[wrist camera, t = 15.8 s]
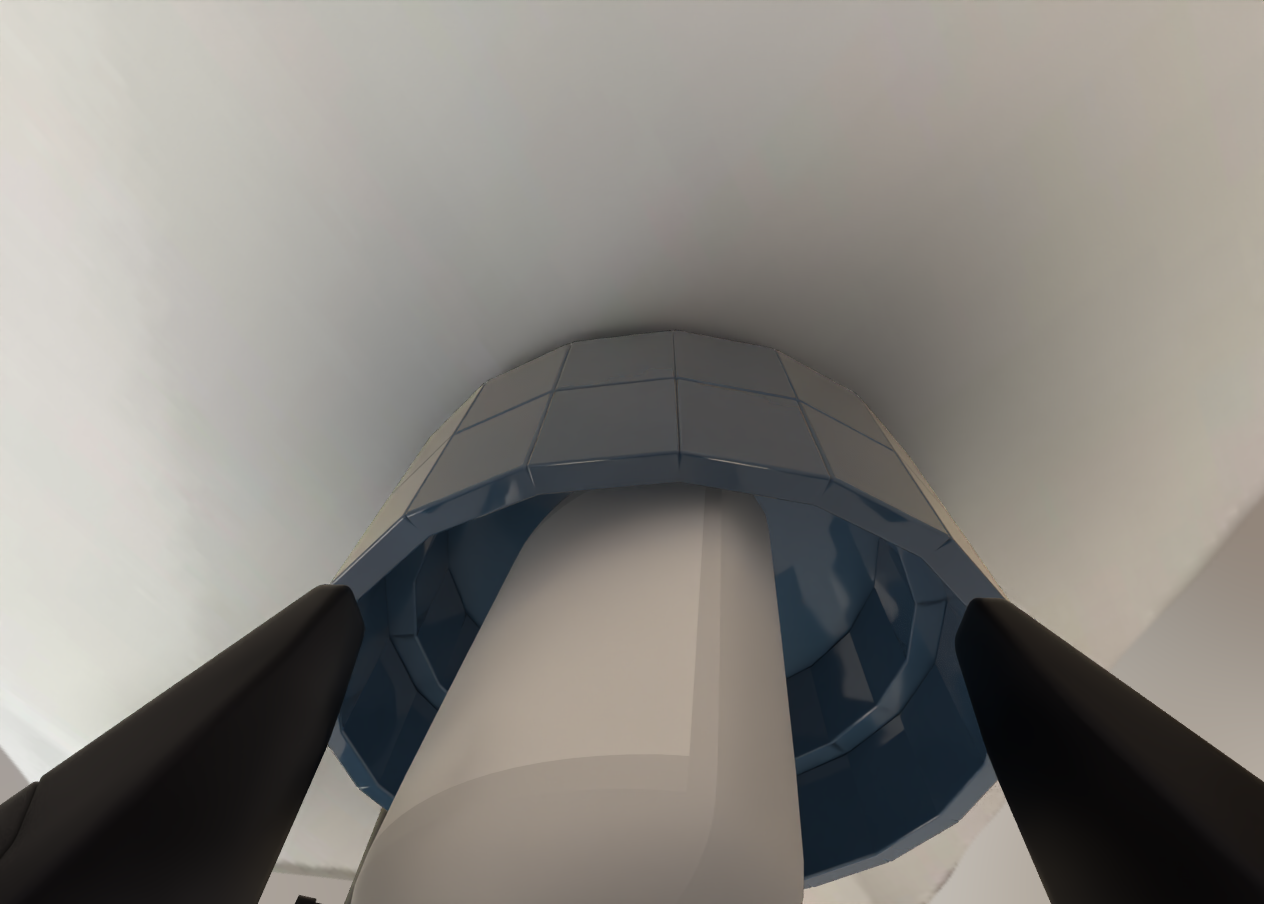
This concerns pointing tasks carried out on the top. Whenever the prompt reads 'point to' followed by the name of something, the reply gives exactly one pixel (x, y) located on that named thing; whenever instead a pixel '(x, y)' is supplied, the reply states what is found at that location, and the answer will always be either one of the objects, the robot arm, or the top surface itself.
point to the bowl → (801, 553)
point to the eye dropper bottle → (611, 722)
